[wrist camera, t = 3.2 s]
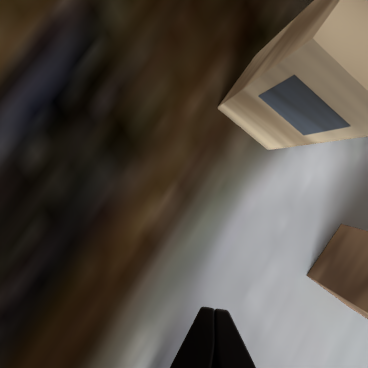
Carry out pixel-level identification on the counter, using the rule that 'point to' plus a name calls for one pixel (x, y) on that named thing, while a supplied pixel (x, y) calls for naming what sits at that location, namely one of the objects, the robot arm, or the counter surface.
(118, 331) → the counter surface
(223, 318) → the robot arm
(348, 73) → the maple block
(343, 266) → the walnut block
